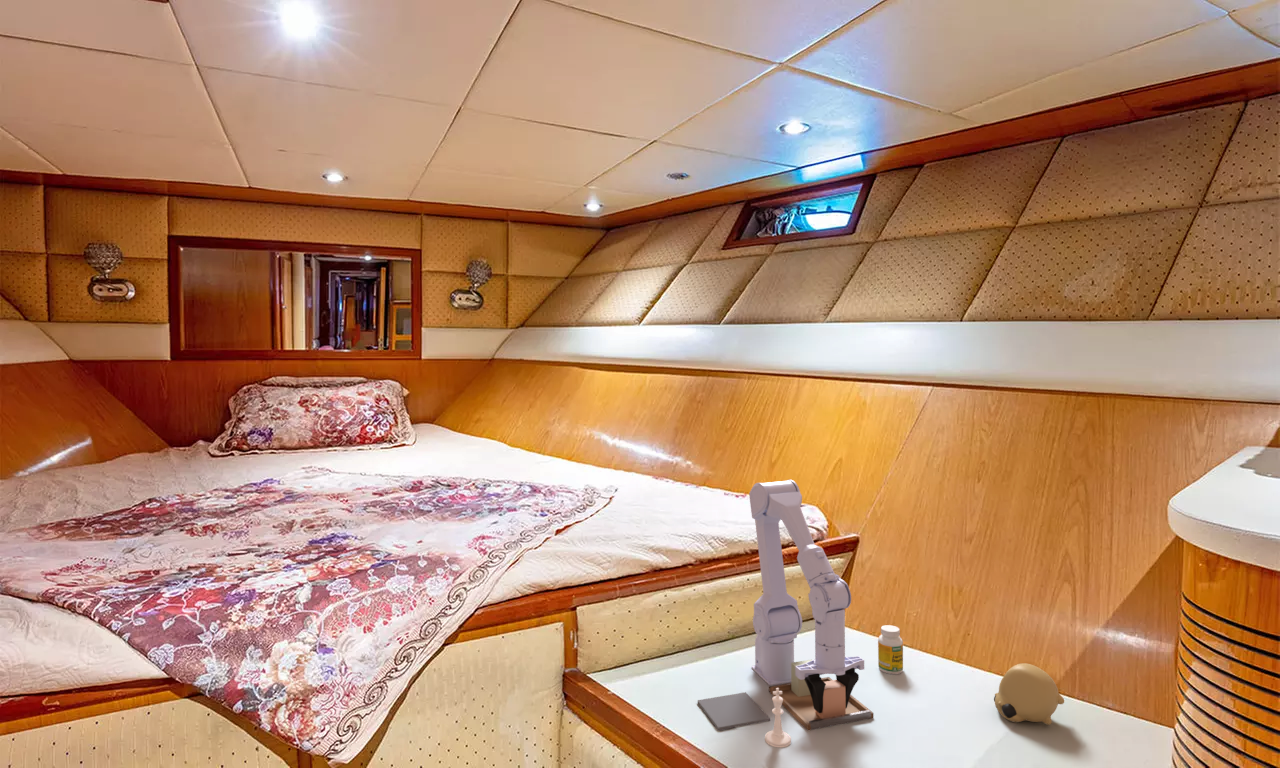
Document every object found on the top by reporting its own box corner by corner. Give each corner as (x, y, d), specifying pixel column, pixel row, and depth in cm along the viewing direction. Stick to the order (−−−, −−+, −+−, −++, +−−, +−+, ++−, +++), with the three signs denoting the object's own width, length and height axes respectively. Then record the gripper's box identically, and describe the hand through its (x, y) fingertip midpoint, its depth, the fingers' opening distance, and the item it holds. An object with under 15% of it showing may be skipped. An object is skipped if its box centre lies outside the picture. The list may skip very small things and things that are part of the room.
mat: (697, 703, 140) (697, 700, 140) (745, 694, 143) (745, 692, 143) (718, 730, 129) (718, 727, 129) (769, 721, 133) (769, 718, 132)
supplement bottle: (887, 662, 158) (887, 621, 157) (908, 670, 153) (908, 629, 153) (873, 668, 155) (873, 627, 154) (893, 677, 150) (893, 634, 150)
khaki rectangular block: (791, 690, 144) (791, 662, 144) (811, 686, 146) (811, 659, 146) (798, 696, 142) (798, 668, 141) (819, 693, 143) (819, 665, 143)
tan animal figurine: (1018, 723, 137) (975, 684, 139) (1062, 684, 135) (1018, 645, 137) (1033, 749, 127) (987, 706, 130) (1080, 707, 125) (1033, 664, 127)
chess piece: (761, 734, 128) (761, 682, 128) (786, 732, 128) (786, 681, 128) (768, 749, 123) (768, 695, 123) (795, 747, 123) (794, 694, 123)
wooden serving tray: (769, 692, 144) (768, 685, 144) (828, 682, 148) (828, 675, 148) (807, 731, 129) (807, 723, 129) (873, 718, 133) (873, 710, 133)
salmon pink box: (815, 712, 135) (815, 683, 135) (837, 708, 137) (836, 679, 136) (823, 720, 132) (823, 690, 132) (845, 716, 134) (845, 686, 133)
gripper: (808, 654, 128) (808, 724, 128) (873, 644, 132) (873, 712, 133) (789, 640, 135) (790, 706, 135) (852, 630, 139) (852, 695, 139)
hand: (830, 708), depth 134 cm, fingers closed on salmon pink box, 5 cm apart
